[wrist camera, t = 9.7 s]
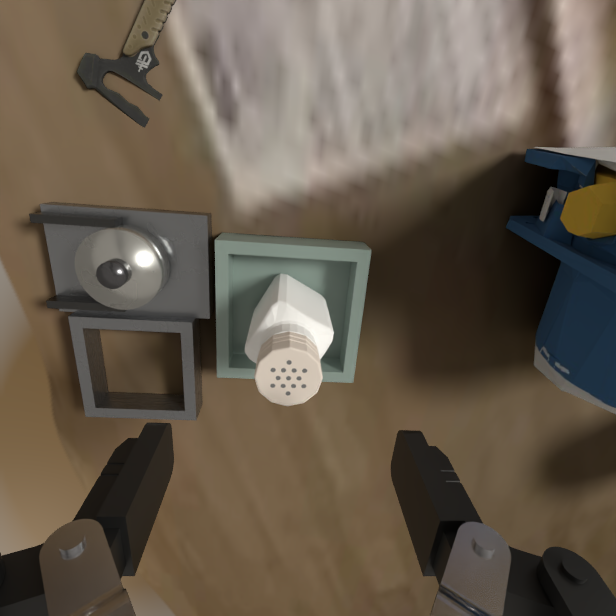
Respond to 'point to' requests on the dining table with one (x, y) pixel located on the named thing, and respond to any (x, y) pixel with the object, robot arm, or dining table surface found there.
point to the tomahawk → (130, 59)
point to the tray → (302, 267)
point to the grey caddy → (131, 293)
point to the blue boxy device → (578, 271)
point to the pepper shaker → (289, 341)
